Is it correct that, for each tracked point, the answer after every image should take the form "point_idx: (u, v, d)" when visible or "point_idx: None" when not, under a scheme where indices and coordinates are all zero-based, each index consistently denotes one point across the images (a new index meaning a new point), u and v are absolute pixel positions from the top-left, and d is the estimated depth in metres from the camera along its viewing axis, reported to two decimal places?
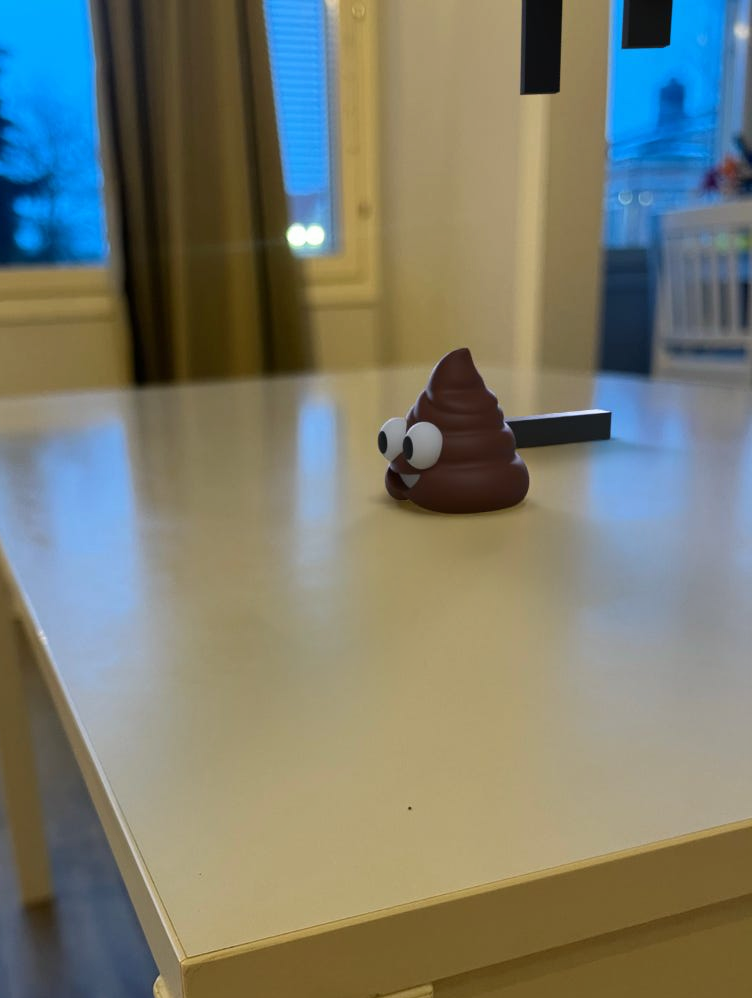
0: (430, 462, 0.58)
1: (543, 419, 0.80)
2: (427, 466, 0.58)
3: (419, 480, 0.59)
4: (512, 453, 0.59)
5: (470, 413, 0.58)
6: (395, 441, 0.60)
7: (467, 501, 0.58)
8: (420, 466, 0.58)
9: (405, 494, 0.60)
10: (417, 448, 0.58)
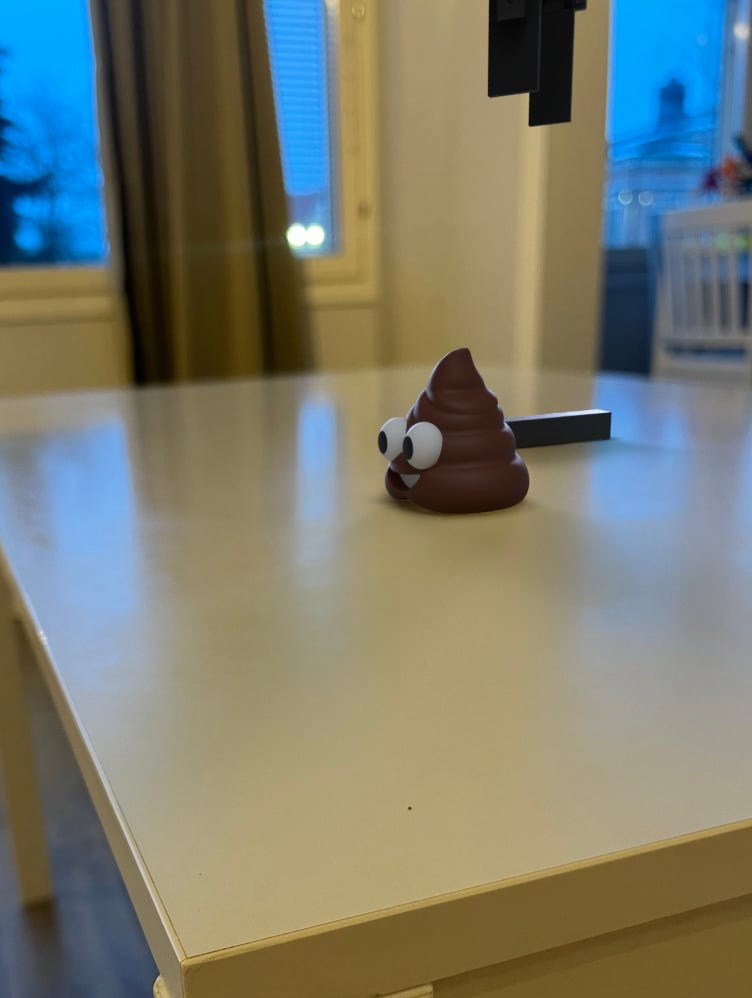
0: (430, 462, 0.58)
1: (543, 419, 0.80)
2: (427, 466, 0.58)
3: (419, 480, 0.59)
4: (512, 453, 0.59)
5: (470, 413, 0.58)
6: (395, 441, 0.60)
7: (467, 501, 0.58)
8: (420, 466, 0.58)
9: (405, 494, 0.60)
10: (417, 448, 0.58)
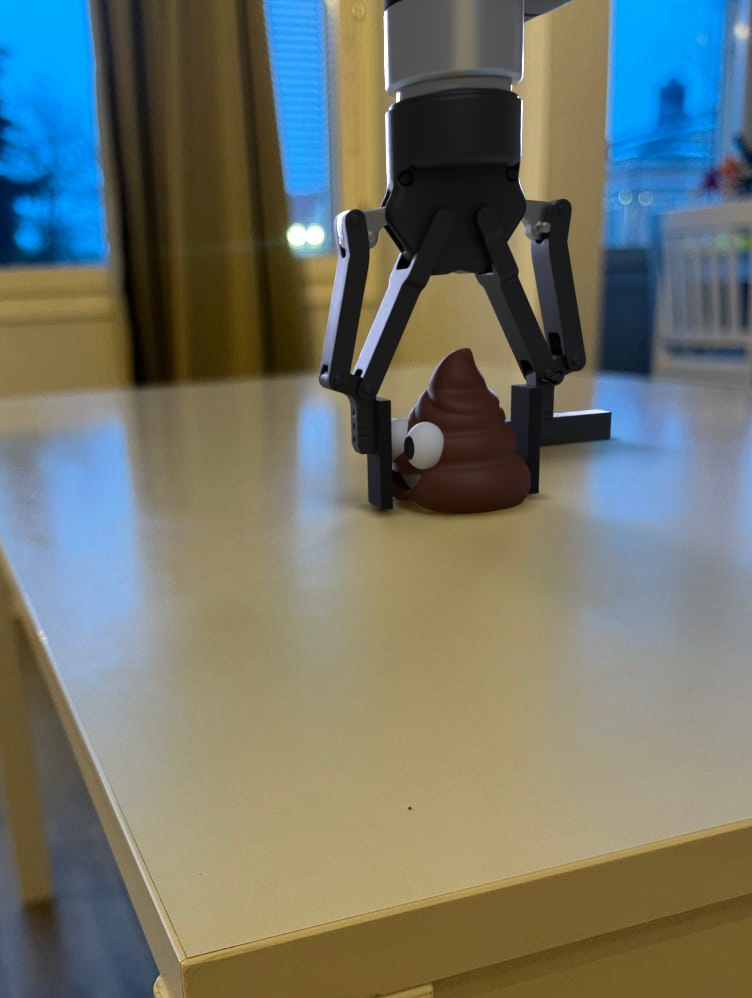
0: (432, 462, 0.58)
1: None
2: (428, 466, 0.59)
3: (420, 480, 0.59)
4: (513, 453, 0.59)
5: (471, 413, 0.58)
6: (396, 441, 0.60)
7: (468, 501, 0.58)
8: (421, 466, 0.58)
9: (406, 494, 0.60)
10: (418, 448, 0.58)
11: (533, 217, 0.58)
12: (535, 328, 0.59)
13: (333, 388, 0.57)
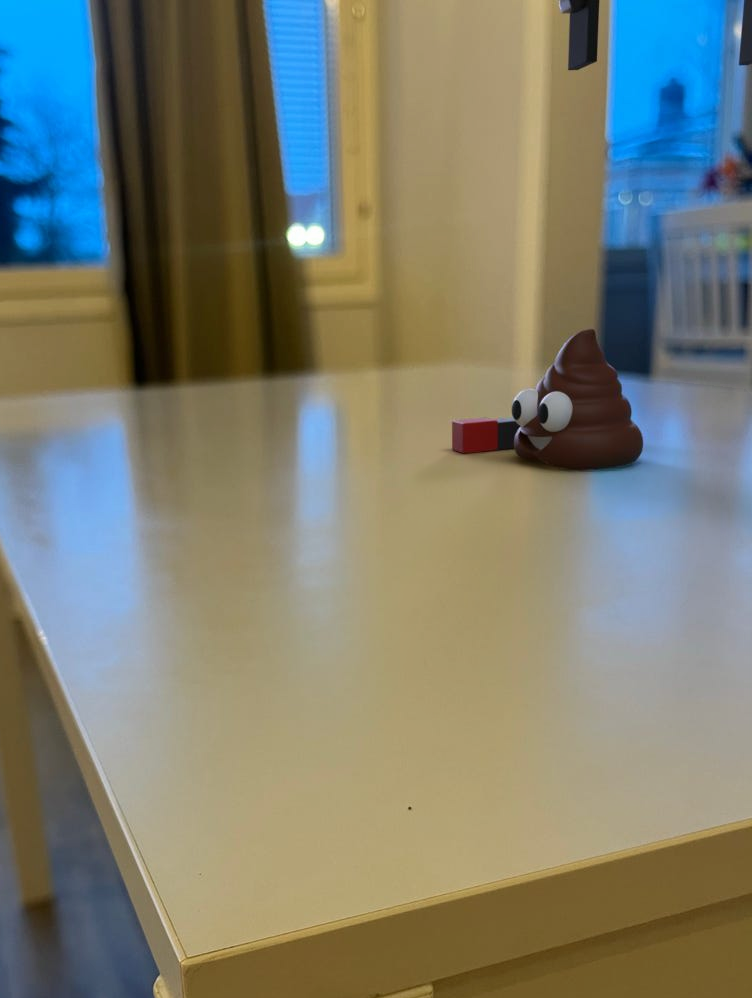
0: (562, 425, 0.69)
1: None
2: (559, 429, 0.69)
3: (551, 441, 0.69)
4: (629, 418, 0.70)
5: (596, 383, 0.69)
6: (528, 409, 0.71)
7: (594, 458, 0.68)
8: (553, 429, 0.69)
9: (537, 454, 0.71)
10: (552, 413, 0.68)
11: None
12: None
13: None
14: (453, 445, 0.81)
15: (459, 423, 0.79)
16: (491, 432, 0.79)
